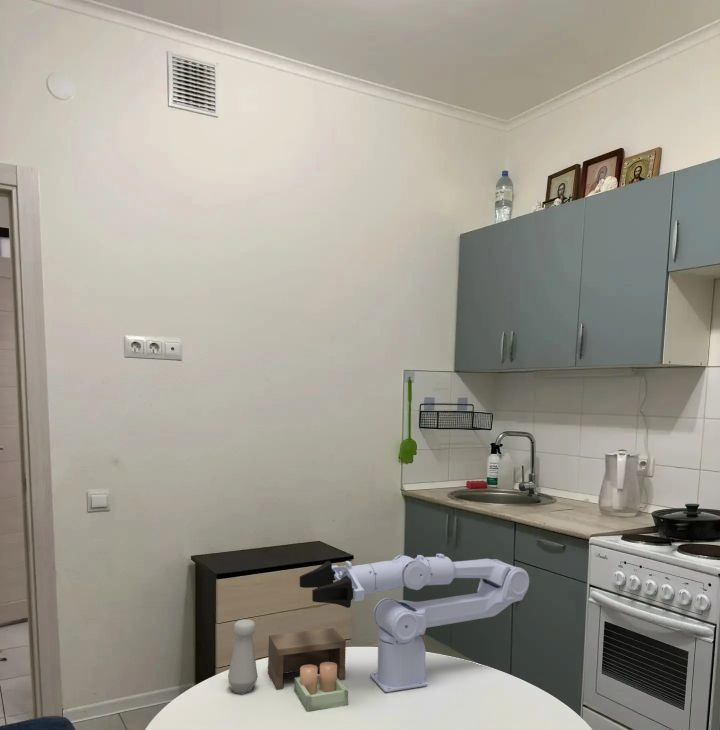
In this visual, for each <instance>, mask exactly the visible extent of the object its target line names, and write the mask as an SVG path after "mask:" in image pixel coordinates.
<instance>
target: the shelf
mask: <svg viewBox="0 0 720 730" xmlns="http://www.w3.org/2000/svg"><path fill="white" fill-rule="evenodd" d="M346 644H347V643H346V639H345V638H343V636H341V634H340V633H339V632H338V631H336V629H335V628H324V629H317V630H305V631H299V632H290V633H288V632H287V633H279V634H272V635H268V648H267V649H268V650H267V651H268V655H267V659H268V660H267V675H268V676H269V679H270V680H271V682H272V685H274V688H275V690H276V691H279V690H283V689H284V688H283V683H284V682H283V681H284V679H283V678H284V674H288V673H289V674H290V673H295V672H296V673H297V672H300V667H301V666H303V665H308V664H311V665H315V666H317V667H318V670H320V664H321V663H323V662H334V663H336V664H337V678H338V679H339V680H340V681H345V680H346V651H347V649H346V648H347V647H346V646H347V645H346Z"/></svg>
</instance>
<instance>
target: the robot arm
mask: <svg viewBox="0 0 720 730" xmlns="http://www.w3.org/2000/svg"><path fill="white" fill-rule="evenodd" d="M454 579H480V580H479V583H478V588H477V592H475V593H468V594H463V595H462V594H461V595H455V596H449V597H442V598H435V599H429V600H423V601H422V600H420V601H412V600H404V599H400V600H397V599H394V598H391V597H385V598H382V599H380V600H378V602H377V603H376V605H375V606H374V609H373V613H372V614H373V620H374V623H375V625H376V626H377V628H378V630H377V631H378V633H377V643H378V644H377V672H375V673H374V672H373V673H370V678H371V679H372V681H374V682H375V683H376V685H378V687H379V688H380V689H381V690H382V691H383V692H385V693H389V692H390V693H391V692H395V691H396V692H397V691H401V690H408V689H409V690H410V689H413V688H420V687H427V685H428V683H427V681H426V673H427V672H426V667H427V666H426V663H427V662H426V660H427V659H426V658H427V657H426V655H427V653H426V652H427V651H426V647H425V642H424V640H423V638H422V637H421V635H425V633H426V630H427V629H428V628H432V627H433V628H434V627H439V626H445V625H450V624H456V623H463V622H468V621H475V620H479V619H486V618H492V617H495V616H497V615H498V614H500V613H501V612H502V611H503V610H505V609H506V608H508V607H509V606H510V605H511V604H513V603H515V602H520V601H523V598H524V597H525V595H526V594H527V592H528V589H529V586H530V576H529V574H528V572H527V570H525V569H524V568H523V567H518V566H515V565H513V564H509V563H506V562H503V561H502V560H500V559H496V558H494V559H492V558H479V559H470V560H461V561H452V560H451V558H449V556H445V554H443V553H436V554H435V556H424V555H422V554H417V555H416V557H415V558H413V557H411V556H408V555H403V554H399V555H397V556H396V557H394V558H393V559H391V560H384V561H377V562H371V563H365V564H356V565H352V562H350V561H349V560H346V561H344V565H340V566H339V565H337V564H335V565H333V563H332V562H331V561H330V560H326V561H325V562H324V563H322V565H320V566H319V567H317V568H315V569H313V570H311V571H308V572H306V573H304V574H302V575H299V587H300V588H302V589H303V588H304V589H306V588H307V589H311V588H312V591H311V593H312V594H311V596H312V597H311V601H312V602H313V603H322V604H323V603H325V604H334V605H339V606H341V607H344V608H346V609H347V608H348V609H349V608H351V605H352V601H354V602H360V601H364V600H365V595H368V594H373V593H379V592H381V593H382V592H385V591H390V590H392V591H393V590H395V589H401V588H404V587H406V588H408V589H409V590H410V589H411V590H415V591H418V590H421V589H422V588H423V587H425V586H438V585H439V586H441V585H450V584H451V583H452V582H453V581H454Z"/></svg>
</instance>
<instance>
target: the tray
mask: <svg viewBox="0 0 720 730" xmlns="http://www.w3.org/2000/svg"><path fill="white" fill-rule="evenodd" d="M318 670H319V673H318ZM293 688H294V690H293V691H294V693H295V695H296V696H297V698H298V699H299V701H300V702H301V704H302V706H303V707H304V709H305V711H306V712H314V711H315V712H316V711H319V710H327V709H331V708H338V707H343V706H345V707H346V706H348V705H349V691H348V689H347V687H345V685H344V684H343V682H341V680H339V679H338V678H337V664H336V663H334V662H323V663H321V664H320V668H319V669H318V667H317V666H315V665H311V664H308V665H303V666H301V667H300V671H299V676H297V677H296V676H295V677H294V687H293Z"/></svg>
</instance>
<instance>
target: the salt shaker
mask: <svg viewBox="0 0 720 730" xmlns="http://www.w3.org/2000/svg"><path fill="white" fill-rule="evenodd" d="M233 633H234V635H235V640H234V645H233V650H232V653H231V655H232V656H231V660H230V665H229V669H228V674H227V675H228V676H227V679H228V680H227V681H228V683H229V686H230V687H231V690H232V691H233V693H235V694H240V693H243V695H244V694H247V693H250V691H251V692H252V690H253V689H254V686H255V684H256V682H257V681H258V669H257V663H256V654H255V649H254V648H255V646H254V639H253V635H254V634H255V633H256V623H255V621H253V620H251V619H245V618H244V619H239V620H238V621H236V622H235V623H234V624H233Z"/></svg>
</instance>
